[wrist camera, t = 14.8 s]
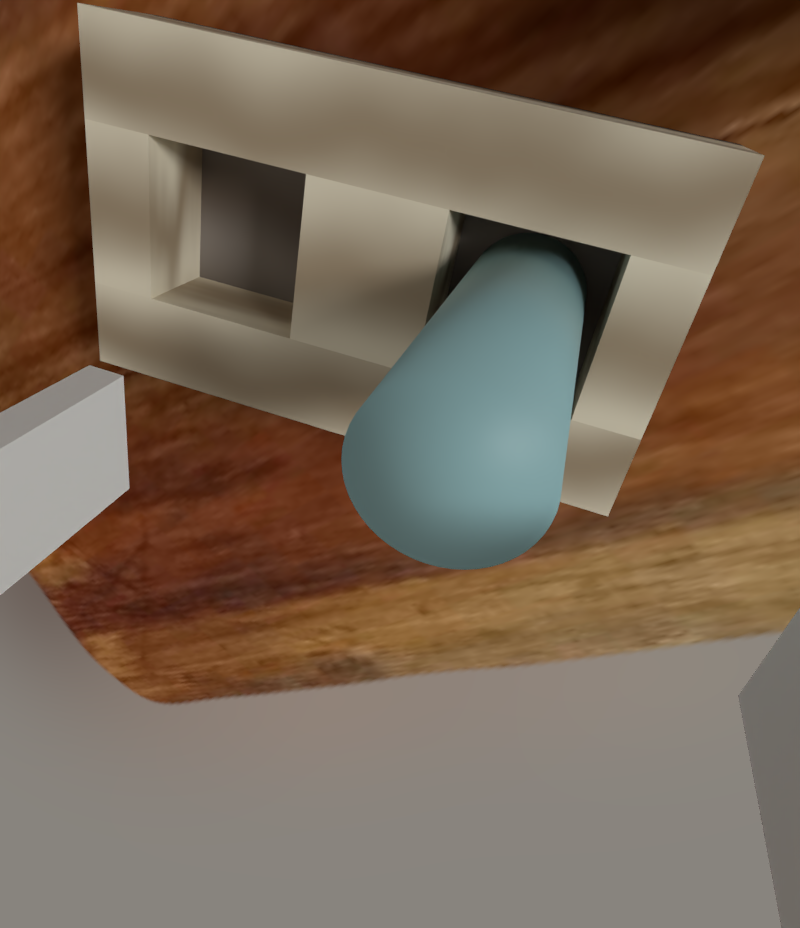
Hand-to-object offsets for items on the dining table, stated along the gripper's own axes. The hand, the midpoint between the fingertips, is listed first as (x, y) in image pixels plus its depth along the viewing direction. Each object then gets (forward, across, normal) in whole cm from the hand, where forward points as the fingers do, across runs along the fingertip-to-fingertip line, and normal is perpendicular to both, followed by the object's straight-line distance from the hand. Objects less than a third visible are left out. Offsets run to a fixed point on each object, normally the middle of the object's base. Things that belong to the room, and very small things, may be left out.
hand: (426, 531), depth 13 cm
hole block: (+19, -6, 0) cm, 20 cm away
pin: (+18, 0, 0) cm, 18 cm away
